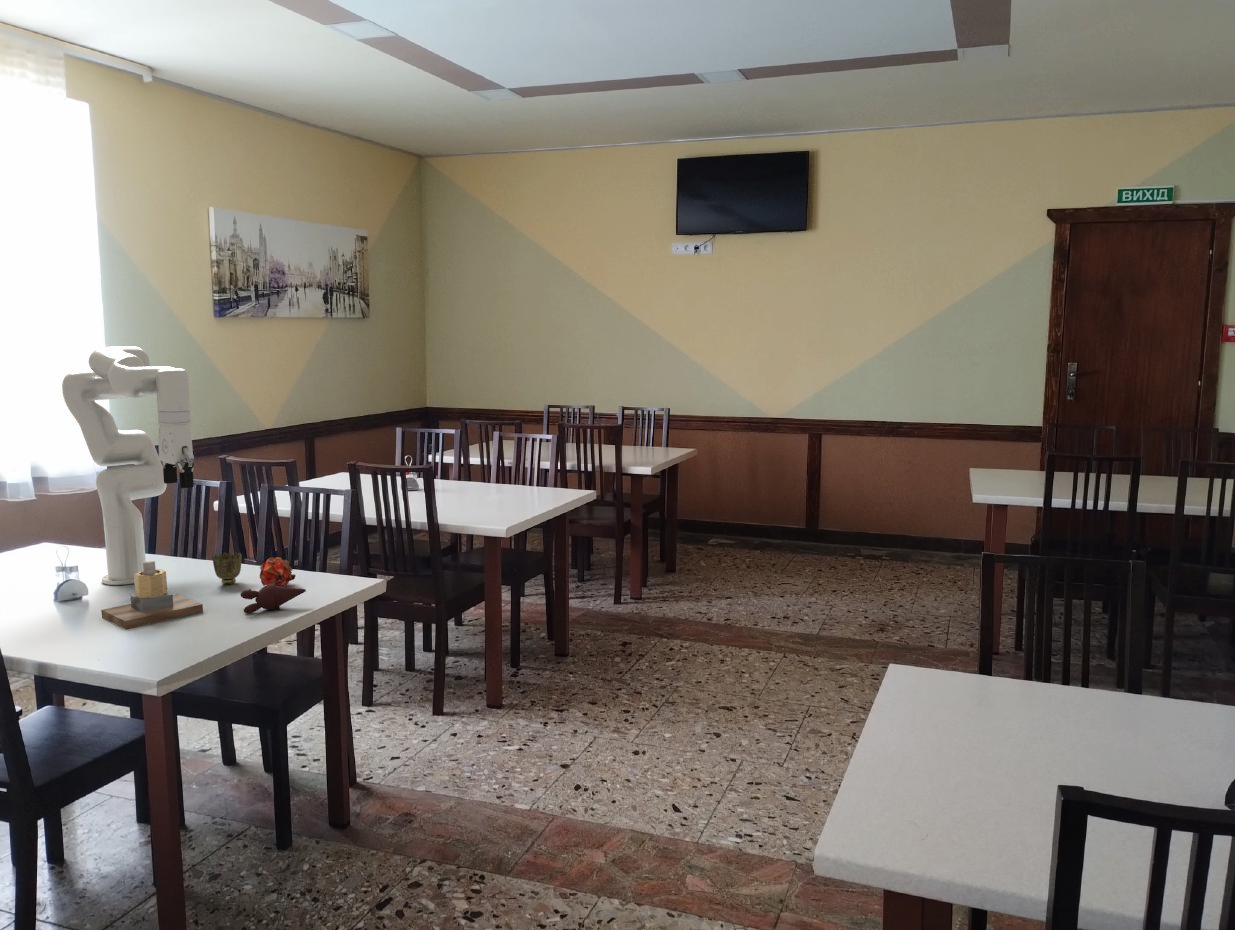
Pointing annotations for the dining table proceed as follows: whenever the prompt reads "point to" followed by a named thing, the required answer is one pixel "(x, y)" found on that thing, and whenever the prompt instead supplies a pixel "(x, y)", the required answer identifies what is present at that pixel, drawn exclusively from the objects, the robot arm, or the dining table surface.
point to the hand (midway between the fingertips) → (178, 485)
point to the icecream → (270, 597)
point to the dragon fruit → (276, 572)
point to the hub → (150, 584)
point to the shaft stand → (151, 607)
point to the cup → (227, 567)
